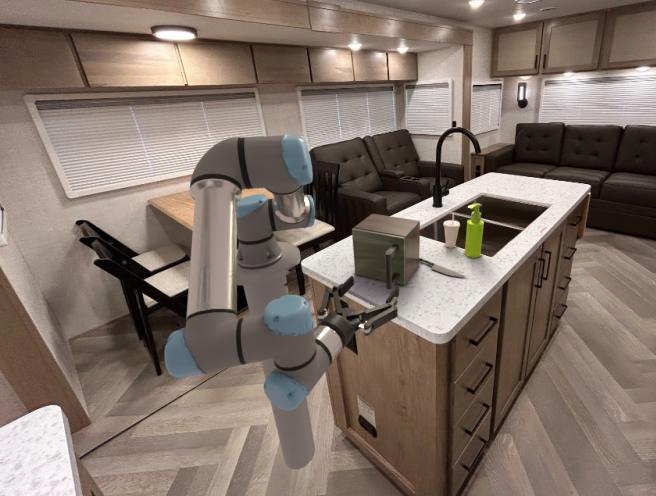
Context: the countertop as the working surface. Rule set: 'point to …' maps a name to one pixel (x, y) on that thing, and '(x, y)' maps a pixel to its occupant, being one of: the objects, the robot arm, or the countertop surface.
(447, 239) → the smoothie
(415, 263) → the cupboard
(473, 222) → the soap dispenser
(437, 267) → the chef's knife
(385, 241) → the cupboard door
